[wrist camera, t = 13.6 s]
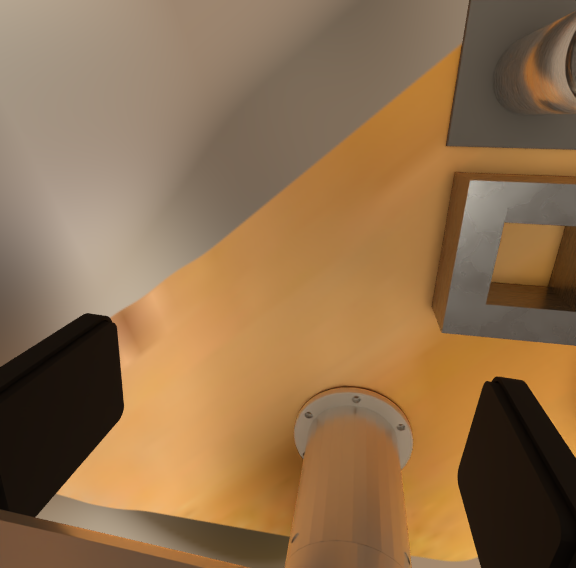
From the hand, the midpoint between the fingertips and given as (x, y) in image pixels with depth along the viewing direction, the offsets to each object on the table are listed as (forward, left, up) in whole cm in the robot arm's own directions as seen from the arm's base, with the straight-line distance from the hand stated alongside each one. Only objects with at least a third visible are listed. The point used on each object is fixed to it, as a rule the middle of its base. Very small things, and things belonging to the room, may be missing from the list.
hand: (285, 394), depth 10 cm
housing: (-3, -15, -27) cm, 31 cm away
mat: (+10, -13, -27) cm, 31 cm away
